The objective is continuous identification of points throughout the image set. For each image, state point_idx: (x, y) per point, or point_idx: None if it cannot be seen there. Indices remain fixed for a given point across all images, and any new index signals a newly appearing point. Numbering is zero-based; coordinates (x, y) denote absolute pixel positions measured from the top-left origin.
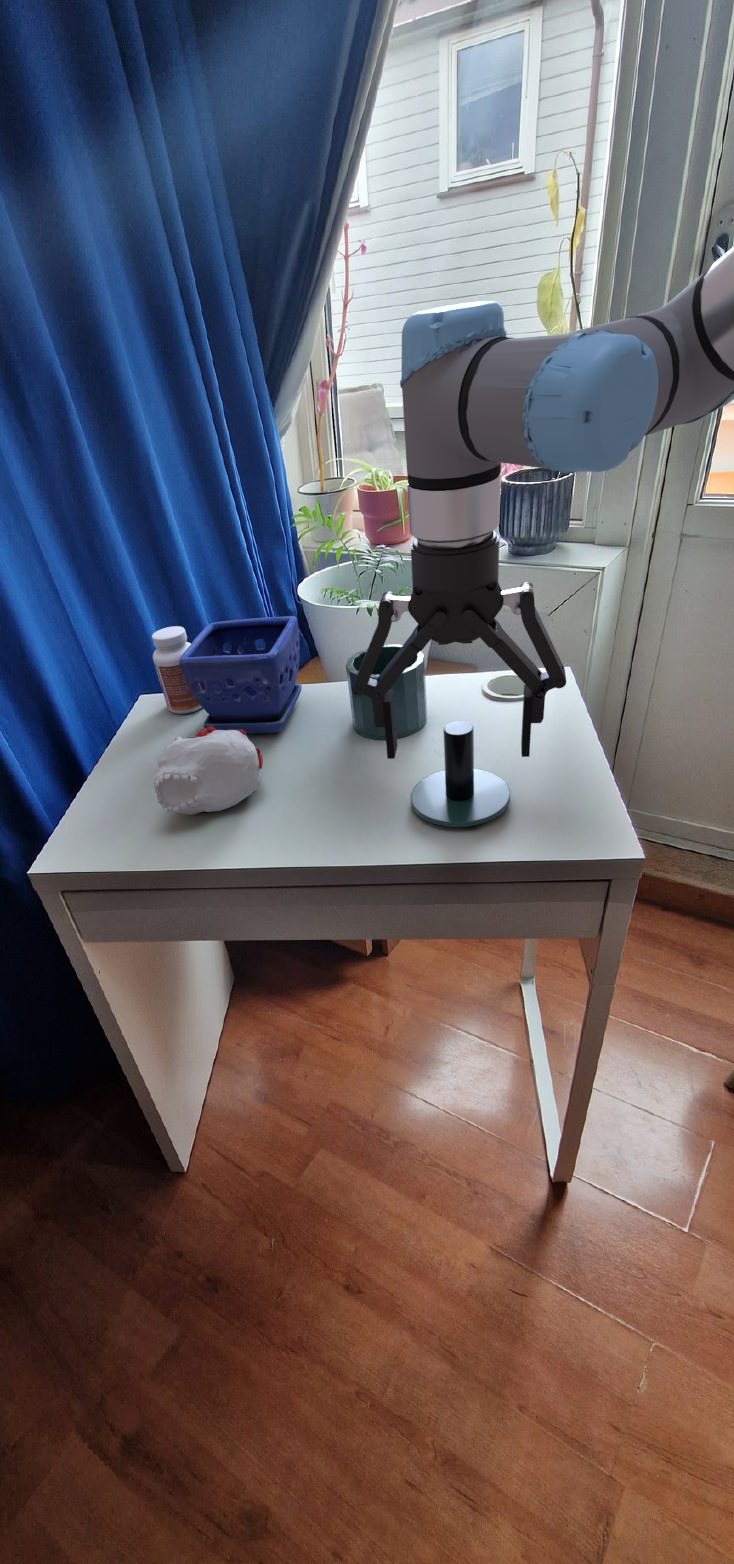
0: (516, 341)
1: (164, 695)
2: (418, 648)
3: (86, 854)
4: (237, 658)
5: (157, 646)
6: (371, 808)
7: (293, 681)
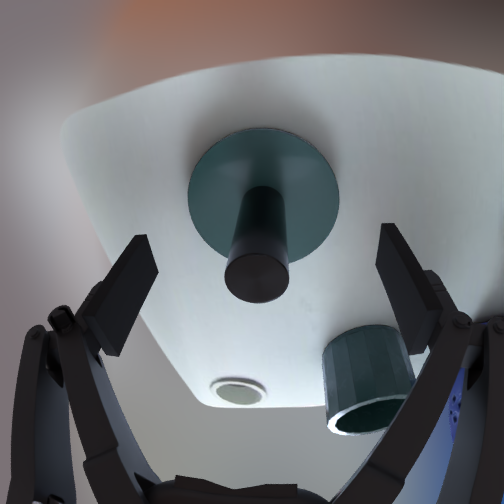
0: None
1: None
2: (375, 472)
3: None
4: None
5: None
6: (392, 183)
7: (458, 382)
